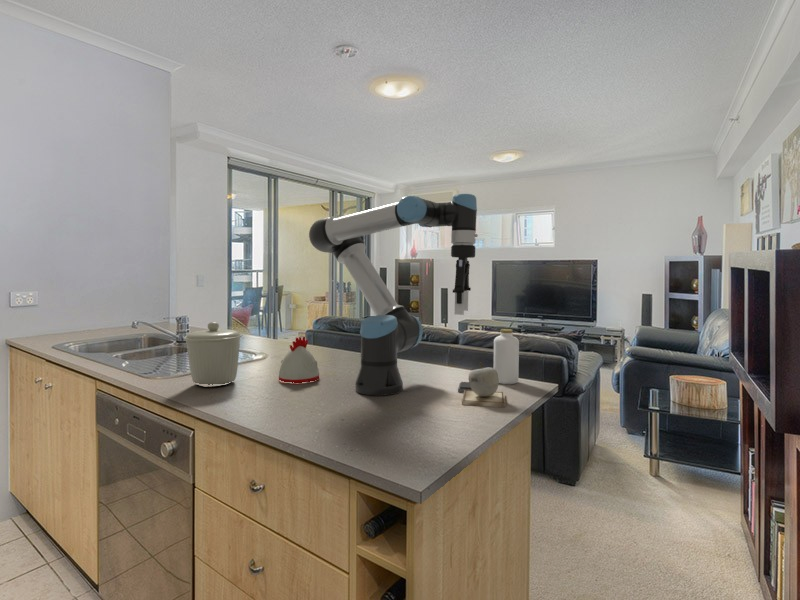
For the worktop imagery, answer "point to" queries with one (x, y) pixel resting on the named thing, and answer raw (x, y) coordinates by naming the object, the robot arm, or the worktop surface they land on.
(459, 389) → the ink pad
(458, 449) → the worktop surface
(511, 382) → the potion bottle
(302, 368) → the grey knit hat
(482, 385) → the decorative object
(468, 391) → the board
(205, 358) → the canister
